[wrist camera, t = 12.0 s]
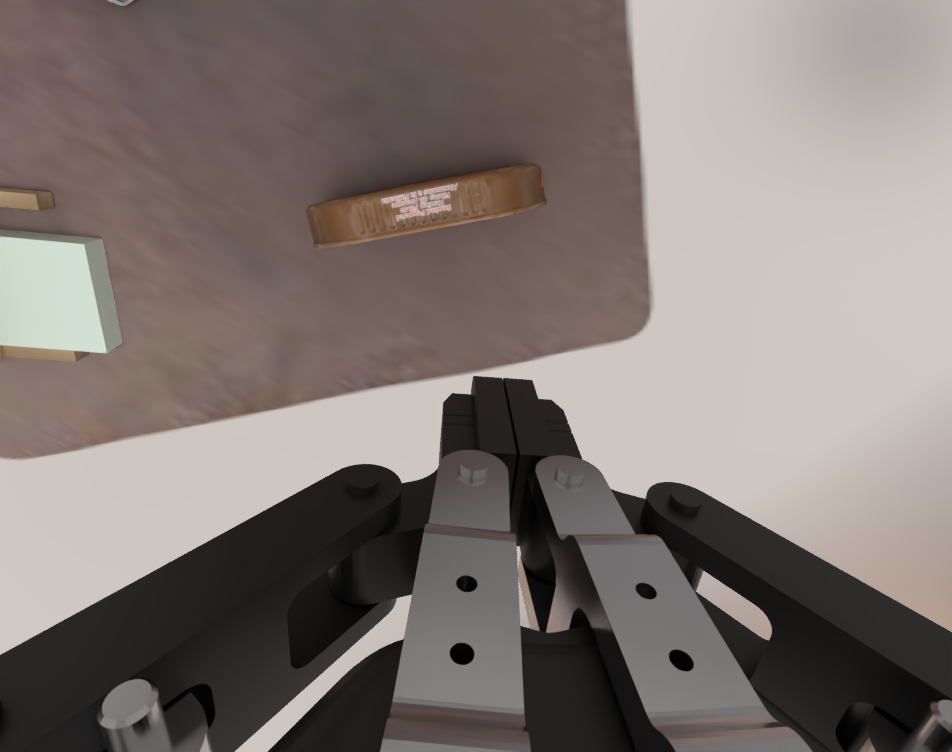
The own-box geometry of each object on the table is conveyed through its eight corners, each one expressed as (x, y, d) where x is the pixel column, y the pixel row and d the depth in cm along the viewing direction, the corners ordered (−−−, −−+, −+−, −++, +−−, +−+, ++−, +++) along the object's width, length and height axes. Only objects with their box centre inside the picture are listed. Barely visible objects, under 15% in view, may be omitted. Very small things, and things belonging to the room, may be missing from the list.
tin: (331, 238, 38) (300, 265, 30) (318, 193, 37) (282, 209, 29) (537, 200, 37) (559, 218, 30) (531, 152, 36) (552, 158, 28)
